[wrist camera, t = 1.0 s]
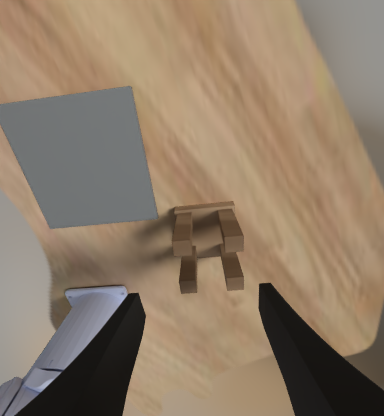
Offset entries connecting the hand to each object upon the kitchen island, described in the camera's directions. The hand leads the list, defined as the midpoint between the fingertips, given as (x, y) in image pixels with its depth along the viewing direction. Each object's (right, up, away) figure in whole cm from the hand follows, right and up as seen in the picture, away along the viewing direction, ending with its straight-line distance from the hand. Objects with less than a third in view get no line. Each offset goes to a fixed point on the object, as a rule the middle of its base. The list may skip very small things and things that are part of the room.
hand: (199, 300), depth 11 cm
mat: (-11, +9, +7) cm, 16 cm away
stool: (+1, +3, +10) cm, 10 cm away
